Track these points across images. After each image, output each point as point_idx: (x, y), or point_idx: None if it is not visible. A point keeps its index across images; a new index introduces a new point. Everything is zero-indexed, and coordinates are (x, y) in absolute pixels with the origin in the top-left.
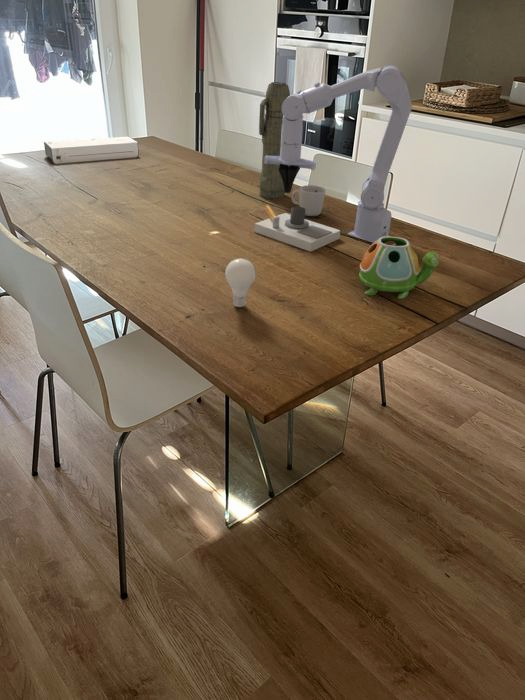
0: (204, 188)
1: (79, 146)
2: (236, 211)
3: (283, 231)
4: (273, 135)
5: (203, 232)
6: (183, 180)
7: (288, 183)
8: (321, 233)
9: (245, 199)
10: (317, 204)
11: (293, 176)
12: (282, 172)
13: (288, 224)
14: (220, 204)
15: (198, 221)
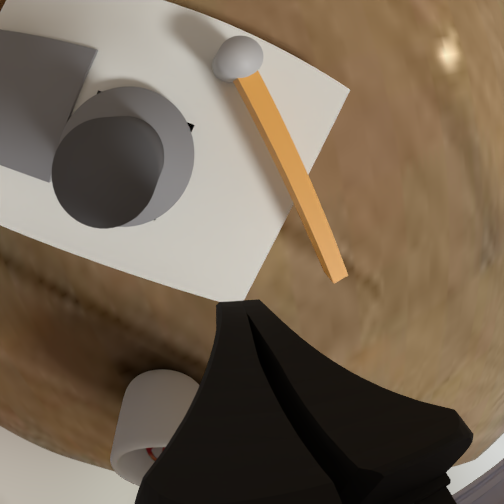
0: (465, 381)
1: None
2: (417, 290)
3: (172, 24)
4: None
5: (472, 52)
6: (486, 387)
7: (244, 351)
8: None
9: (390, 387)
10: (125, 409)
11: (179, 428)
12: (396, 421)
13: (161, 101)
14: (452, 318)
15: (497, 150)
